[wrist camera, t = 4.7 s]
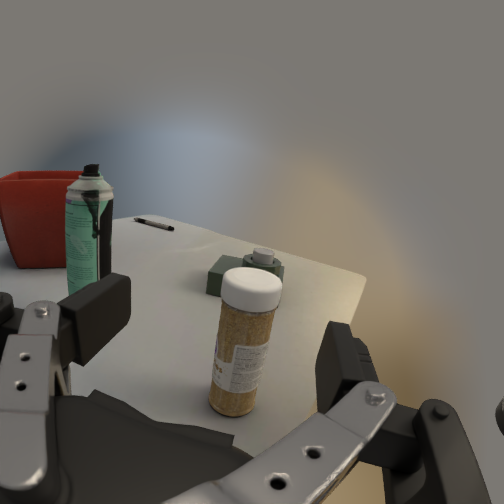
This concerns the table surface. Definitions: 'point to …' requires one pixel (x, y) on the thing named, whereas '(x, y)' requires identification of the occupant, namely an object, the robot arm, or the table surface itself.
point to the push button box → (233, 262)
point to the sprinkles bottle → (242, 338)
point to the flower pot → (36, 216)
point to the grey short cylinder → (263, 256)
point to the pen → (154, 224)
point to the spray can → (88, 229)
